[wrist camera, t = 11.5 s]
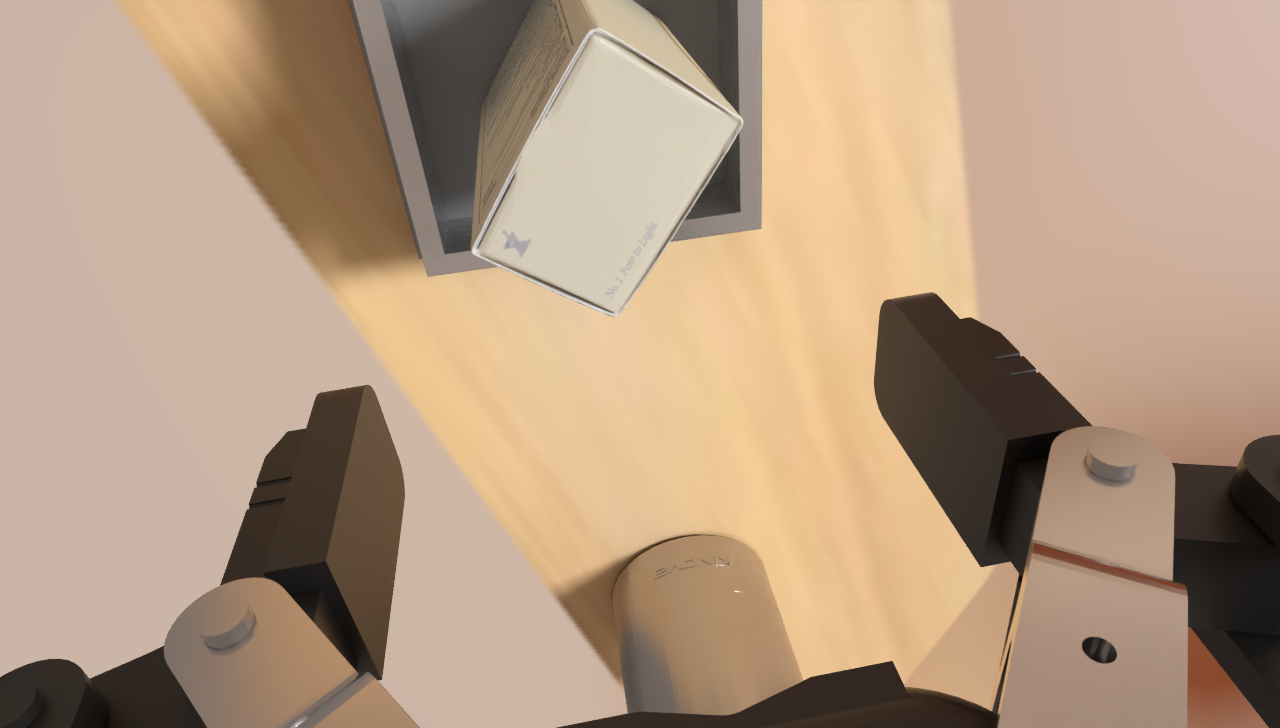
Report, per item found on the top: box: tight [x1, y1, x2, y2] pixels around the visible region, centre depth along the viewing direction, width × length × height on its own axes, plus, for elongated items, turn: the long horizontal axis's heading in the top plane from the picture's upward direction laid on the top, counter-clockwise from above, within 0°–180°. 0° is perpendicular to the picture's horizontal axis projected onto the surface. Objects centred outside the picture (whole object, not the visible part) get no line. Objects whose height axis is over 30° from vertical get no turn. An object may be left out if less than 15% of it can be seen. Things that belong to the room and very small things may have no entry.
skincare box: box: [471, 0, 743, 317], centre depth 24 cm, size 6×4×12 cm
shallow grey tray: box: [353, 0, 762, 277], centre depth 28 cm, size 13×13×3 cm
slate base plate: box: [349, 0, 722, 259], centre depth 29 cm, size 14×14×1 cm
